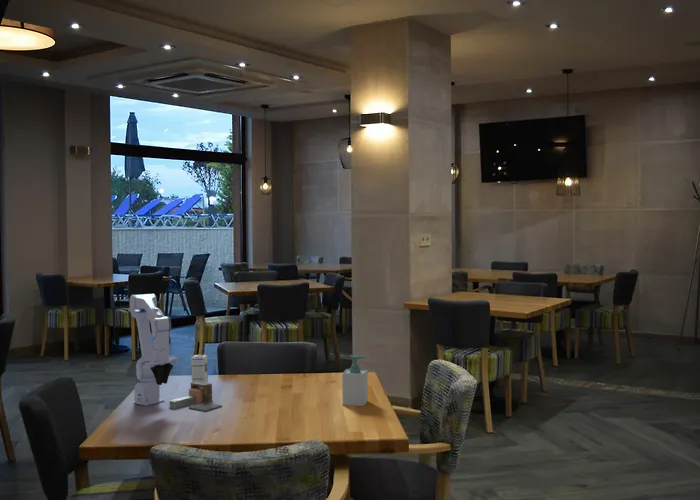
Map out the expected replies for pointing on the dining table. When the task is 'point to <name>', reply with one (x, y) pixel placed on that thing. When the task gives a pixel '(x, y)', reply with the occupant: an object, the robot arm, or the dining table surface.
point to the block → (197, 394)
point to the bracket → (204, 389)
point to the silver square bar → (181, 401)
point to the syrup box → (199, 368)
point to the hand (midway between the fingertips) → (161, 383)
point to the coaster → (205, 406)
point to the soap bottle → (355, 384)
